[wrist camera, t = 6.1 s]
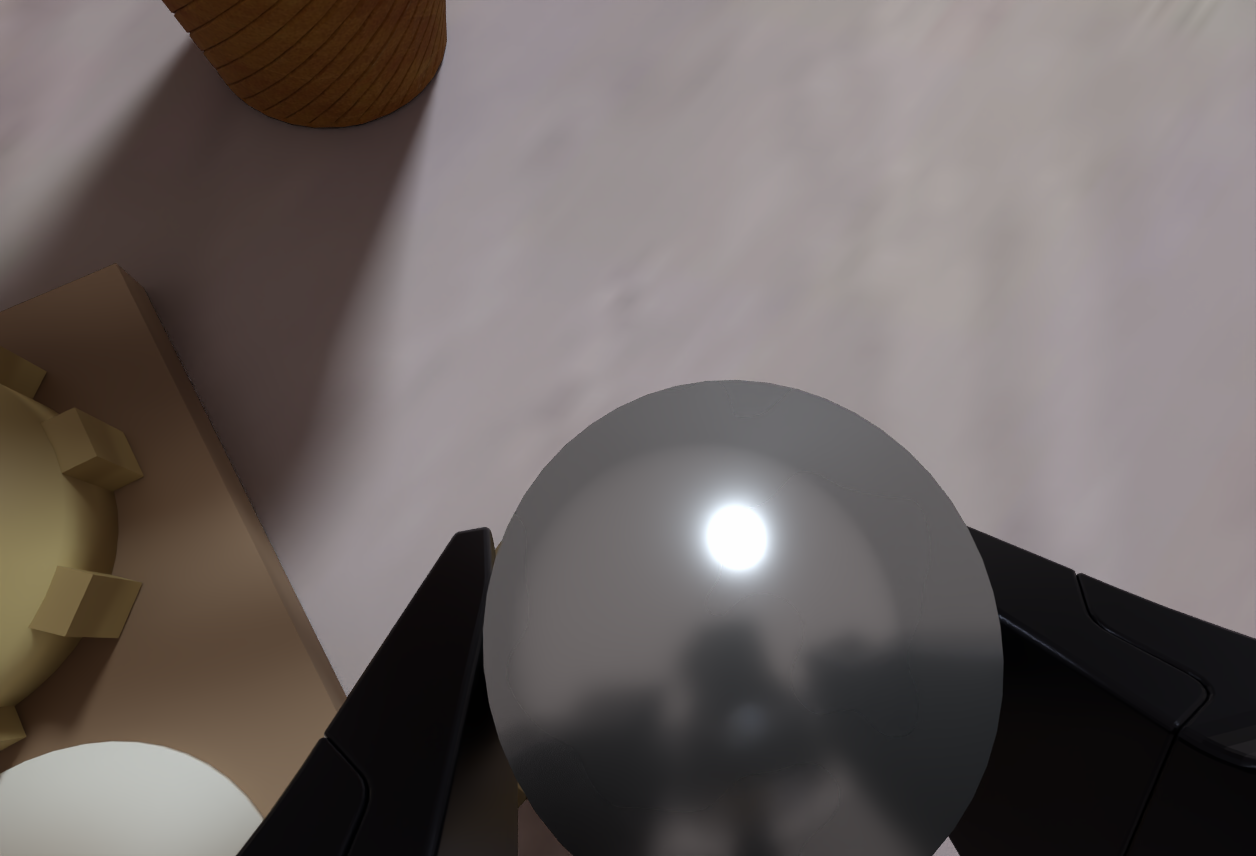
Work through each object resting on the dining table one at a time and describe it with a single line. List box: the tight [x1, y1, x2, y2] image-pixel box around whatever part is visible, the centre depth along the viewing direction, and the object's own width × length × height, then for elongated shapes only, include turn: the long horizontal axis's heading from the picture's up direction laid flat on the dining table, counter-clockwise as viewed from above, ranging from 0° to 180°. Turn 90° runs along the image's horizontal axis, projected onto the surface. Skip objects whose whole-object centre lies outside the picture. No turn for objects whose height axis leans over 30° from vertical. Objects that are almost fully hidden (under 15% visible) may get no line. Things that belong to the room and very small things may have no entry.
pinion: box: [483, 380, 1004, 856], centre depth 10 cm, size 7×7×10 cm
